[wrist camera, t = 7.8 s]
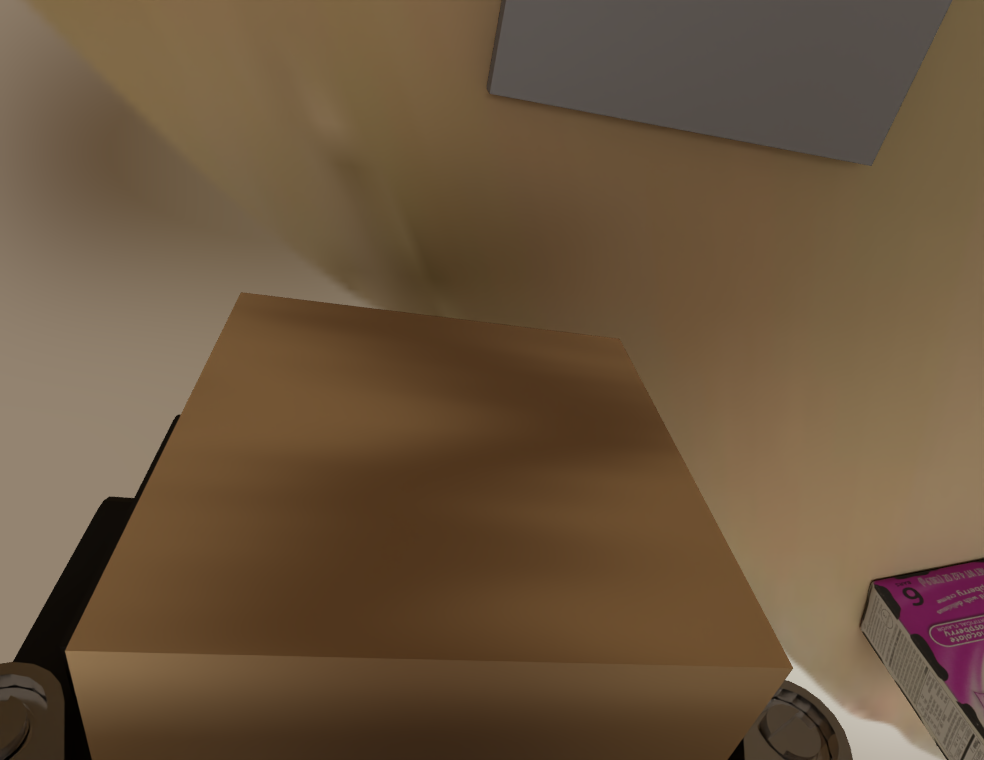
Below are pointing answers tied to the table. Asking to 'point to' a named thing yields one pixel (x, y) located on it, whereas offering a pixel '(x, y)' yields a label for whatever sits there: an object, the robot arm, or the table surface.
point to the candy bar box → (935, 650)
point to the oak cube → (419, 559)
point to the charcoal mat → (723, 65)
